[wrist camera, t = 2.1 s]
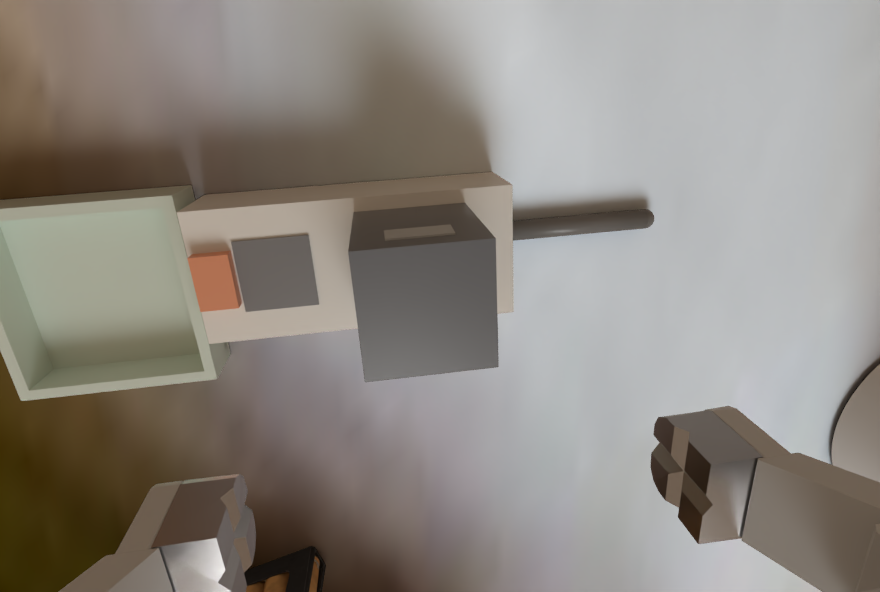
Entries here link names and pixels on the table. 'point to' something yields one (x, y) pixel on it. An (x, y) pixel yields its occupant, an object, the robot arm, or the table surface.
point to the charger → (424, 291)
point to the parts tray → (100, 294)
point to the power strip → (334, 248)
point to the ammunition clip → (288, 573)
